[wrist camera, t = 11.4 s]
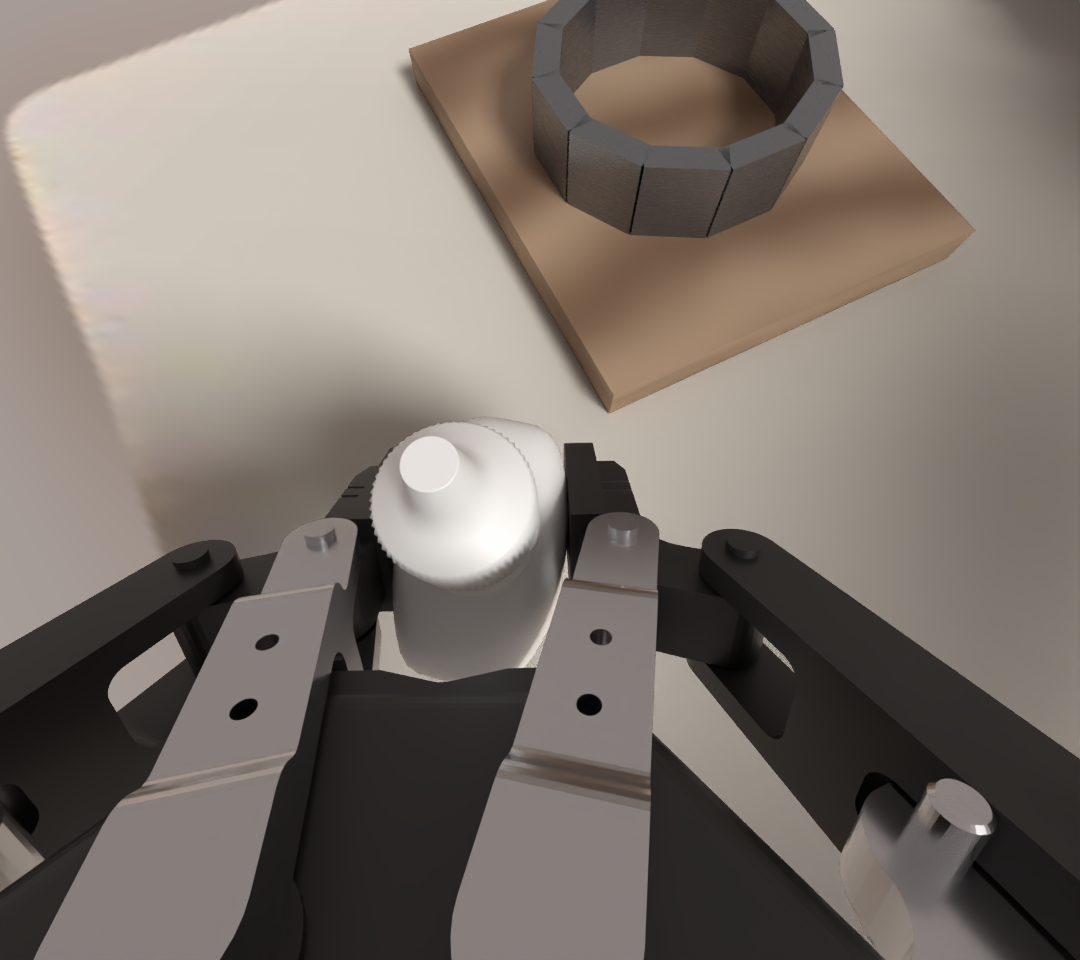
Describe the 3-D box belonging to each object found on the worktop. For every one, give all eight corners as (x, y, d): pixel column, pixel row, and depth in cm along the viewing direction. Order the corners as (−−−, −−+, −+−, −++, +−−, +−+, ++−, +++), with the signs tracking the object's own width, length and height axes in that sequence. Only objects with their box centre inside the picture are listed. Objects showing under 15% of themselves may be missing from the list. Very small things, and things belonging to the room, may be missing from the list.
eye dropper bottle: (611, 560, 17) (725, 405, 6) (503, 693, 16) (384, 819, 5) (517, 483, 18) (459, 219, 7) (408, 602, 17) (119, 524, 6)
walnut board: (946, 257, 21) (975, 230, 20) (609, 413, 19) (613, 394, 18) (696, -17, 27) (704, -55, 25) (416, 83, 25) (408, 49, 23)
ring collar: (855, 174, 20) (904, 99, 18) (613, 277, 19) (625, 214, 16) (709, 12, 24) (731, -74, 21) (494, 91, 22) (485, 11, 19)
